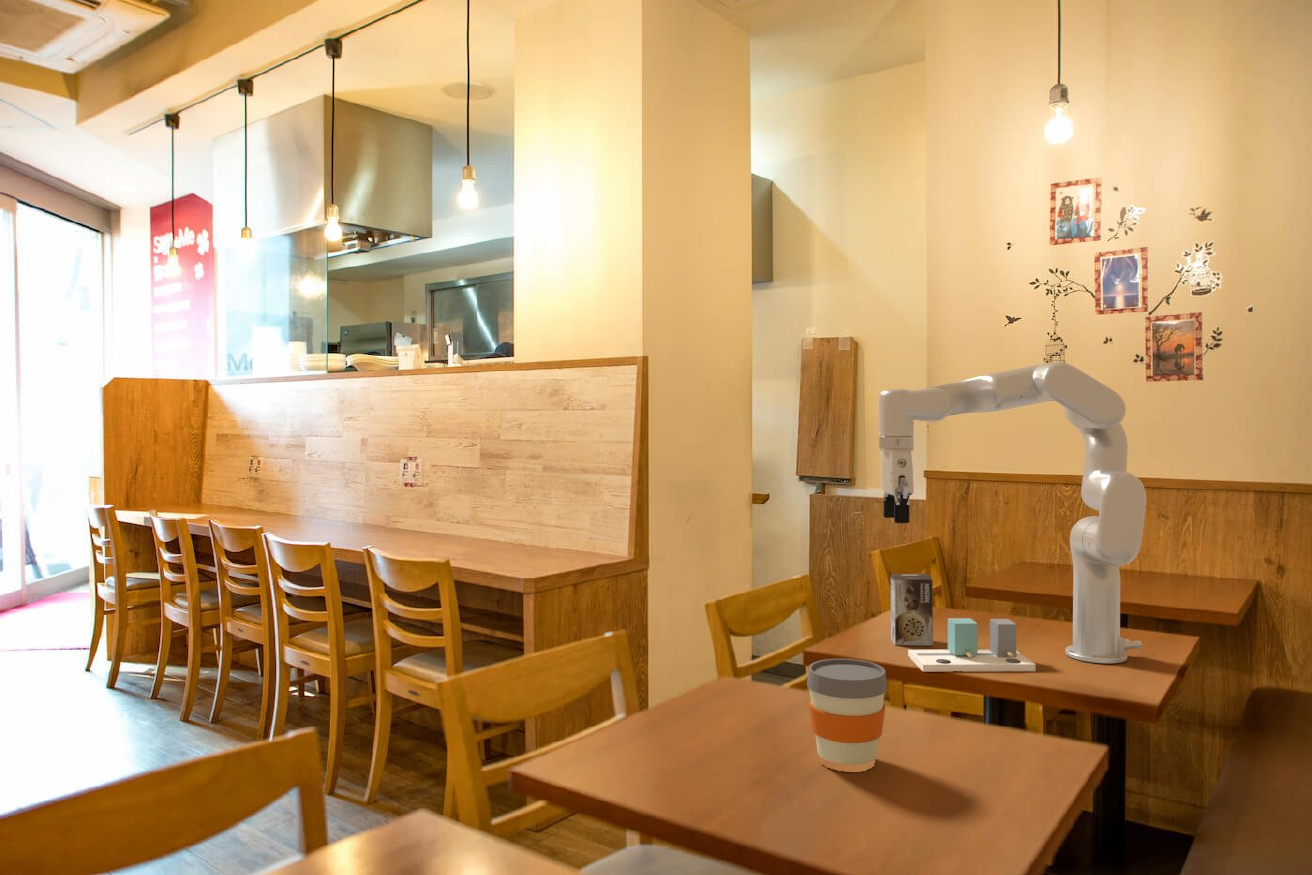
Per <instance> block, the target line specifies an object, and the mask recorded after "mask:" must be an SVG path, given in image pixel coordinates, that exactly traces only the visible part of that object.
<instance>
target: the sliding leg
mask: <svg viewBox="0 0 1312 875" xmlns="http://www.w3.org/2000/svg"><path fill="white" fill-rule="evenodd" d="M978 629H979V628H978V623H977V622H976V621H975V620H974V619H972V618H970V617H965V618H964V617H963V618H961V617H958V618H956V617H955V618H954V617H953V618H952V617H950V618H947V650H949V651H950V652H952V653H953V654H954V655H968V656H969V657H972V655H978V647H979V646H978V644H979V643H978V641H979V640H978V638H979V637H978V636H979V635H978V633H979V632H978V631H979V630H978Z"/></svg>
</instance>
